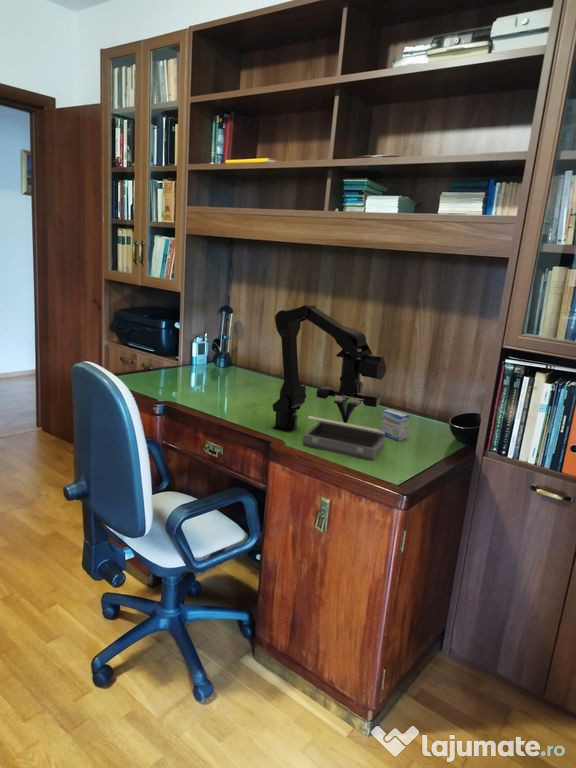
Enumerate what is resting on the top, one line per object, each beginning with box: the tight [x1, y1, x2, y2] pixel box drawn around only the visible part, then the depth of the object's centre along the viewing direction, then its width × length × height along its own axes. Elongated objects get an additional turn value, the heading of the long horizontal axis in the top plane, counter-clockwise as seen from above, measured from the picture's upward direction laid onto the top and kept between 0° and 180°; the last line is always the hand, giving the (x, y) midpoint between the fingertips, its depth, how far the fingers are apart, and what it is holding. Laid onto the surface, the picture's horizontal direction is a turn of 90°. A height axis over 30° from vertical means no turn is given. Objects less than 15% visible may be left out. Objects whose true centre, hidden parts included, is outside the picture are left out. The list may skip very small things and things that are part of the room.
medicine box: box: [379, 408, 410, 442], centre depth 176 cm, size 8×4×9 cm, turn 45°
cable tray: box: [302, 421, 385, 461], centre depth 165 cm, size 22×16×4 cm
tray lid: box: [307, 415, 385, 434], centre depth 165 cm, size 22×14×1 cm, turn 68°
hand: (345, 422), depth 162 cm, fingers closed, pressing on tray lid
